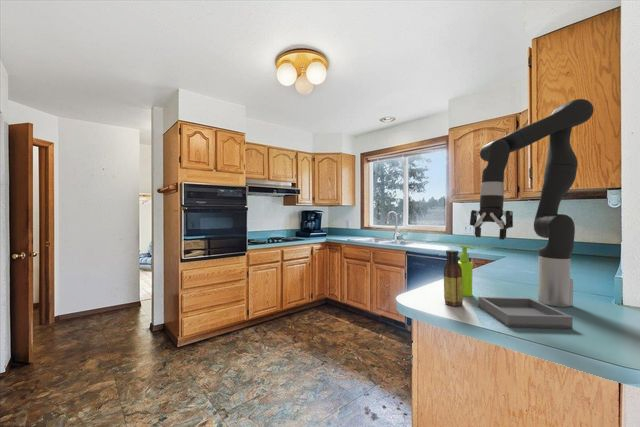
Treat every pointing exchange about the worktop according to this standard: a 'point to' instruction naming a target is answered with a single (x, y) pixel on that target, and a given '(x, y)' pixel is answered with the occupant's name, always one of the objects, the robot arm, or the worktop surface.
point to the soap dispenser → (466, 271)
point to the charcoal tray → (524, 313)
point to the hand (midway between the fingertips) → (489, 238)
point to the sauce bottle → (453, 280)
